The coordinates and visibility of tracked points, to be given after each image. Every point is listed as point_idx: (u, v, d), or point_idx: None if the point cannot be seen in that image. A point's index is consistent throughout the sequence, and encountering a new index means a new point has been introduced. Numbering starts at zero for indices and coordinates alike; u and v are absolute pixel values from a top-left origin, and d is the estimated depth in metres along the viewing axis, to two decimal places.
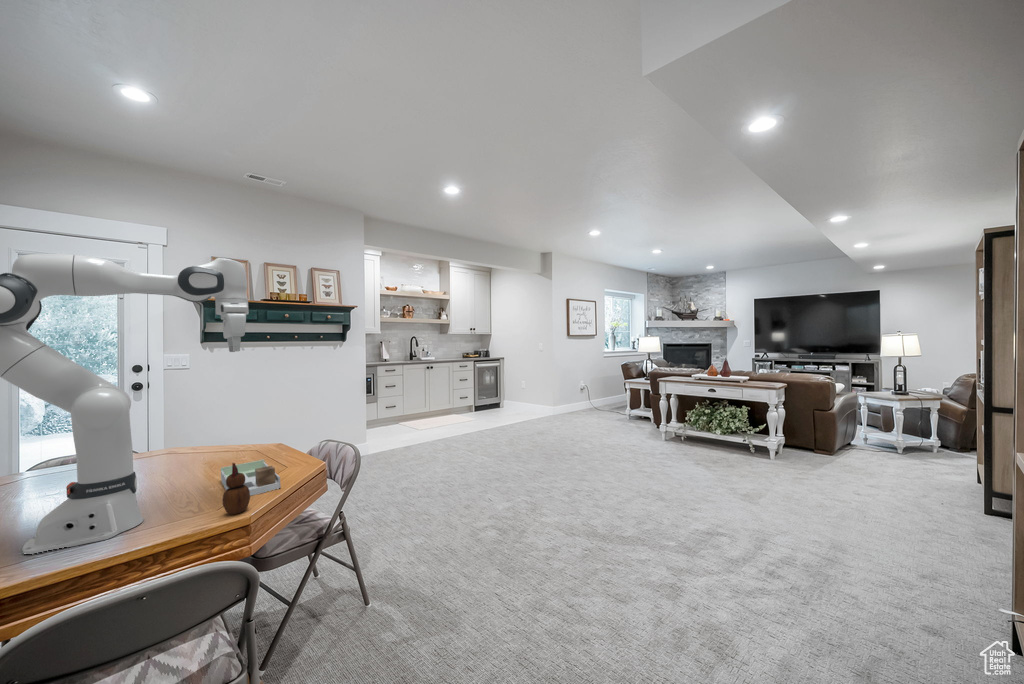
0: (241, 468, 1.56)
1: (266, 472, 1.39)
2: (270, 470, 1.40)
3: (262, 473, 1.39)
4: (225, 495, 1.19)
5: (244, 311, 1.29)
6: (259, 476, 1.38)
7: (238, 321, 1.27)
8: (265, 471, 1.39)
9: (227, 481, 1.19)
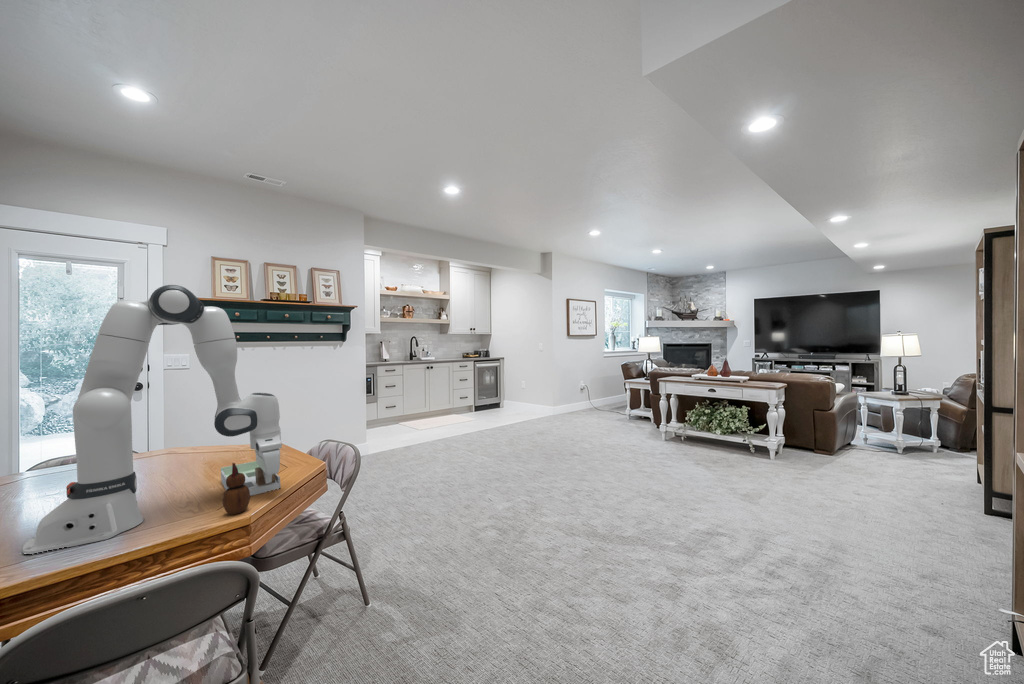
0: (241, 468, 1.56)
1: None
2: None
3: (262, 472, 1.39)
4: (225, 495, 1.19)
5: (278, 448, 1.33)
6: (259, 475, 1.39)
7: (273, 460, 1.31)
8: None
9: (227, 481, 1.19)
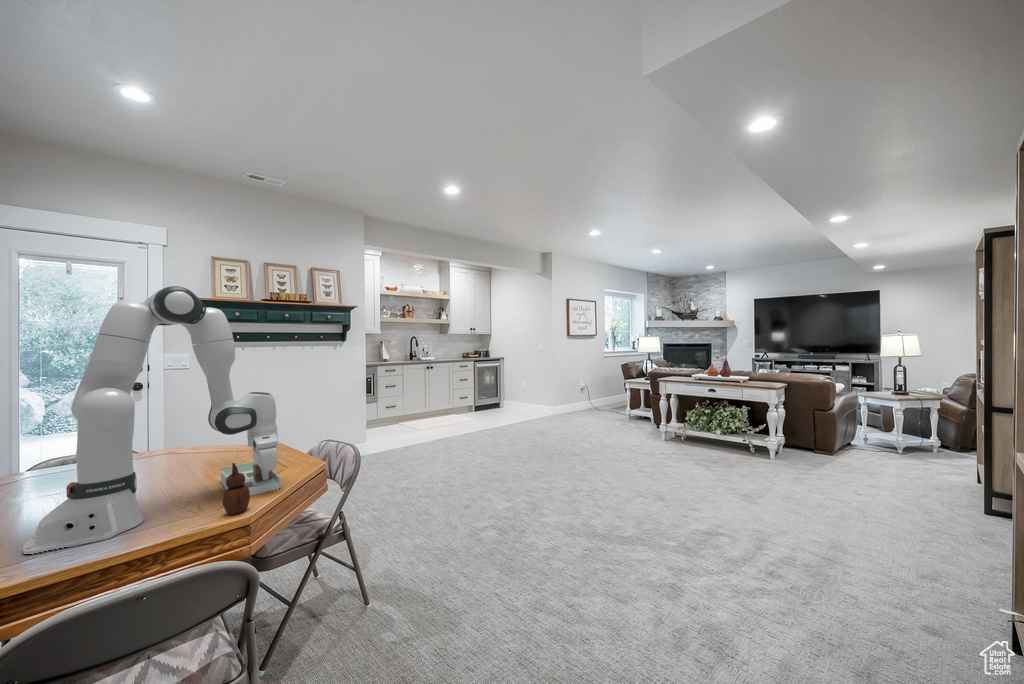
0: (241, 468, 1.56)
1: None
2: None
3: (259, 469, 1.44)
4: (225, 495, 1.19)
5: (275, 445, 1.37)
6: (256, 472, 1.43)
7: (269, 457, 1.35)
8: None
9: (227, 481, 1.19)
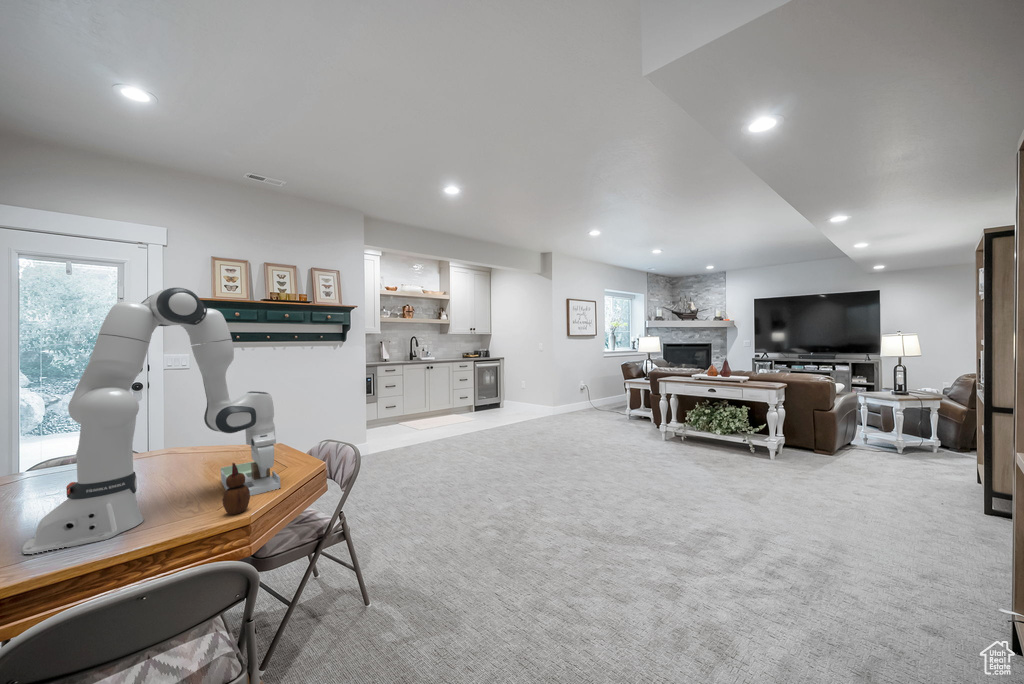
0: (241, 468, 1.56)
1: None
2: None
3: (257, 466, 1.47)
4: (225, 495, 1.19)
5: (272, 443, 1.40)
6: (254, 469, 1.46)
7: (267, 455, 1.38)
8: None
9: (227, 481, 1.19)
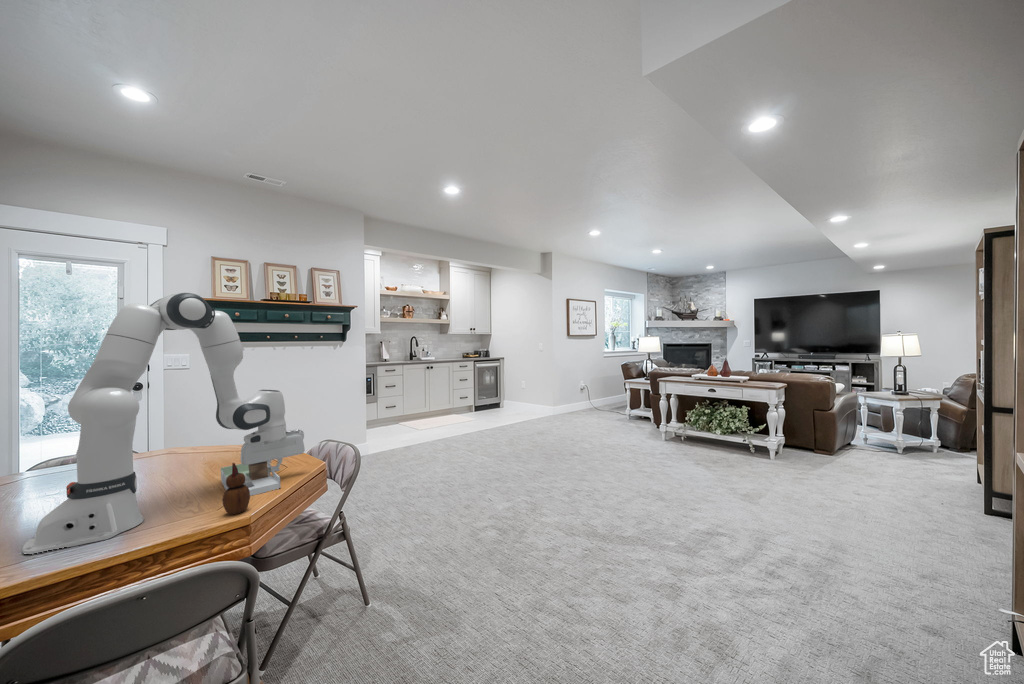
0: (241, 468, 1.56)
1: (259, 466, 1.47)
2: (262, 464, 1.47)
3: (255, 467, 1.46)
4: (225, 495, 1.19)
5: (247, 443, 1.44)
6: (252, 470, 1.45)
7: (241, 452, 1.44)
8: (258, 465, 1.47)
9: (227, 481, 1.19)
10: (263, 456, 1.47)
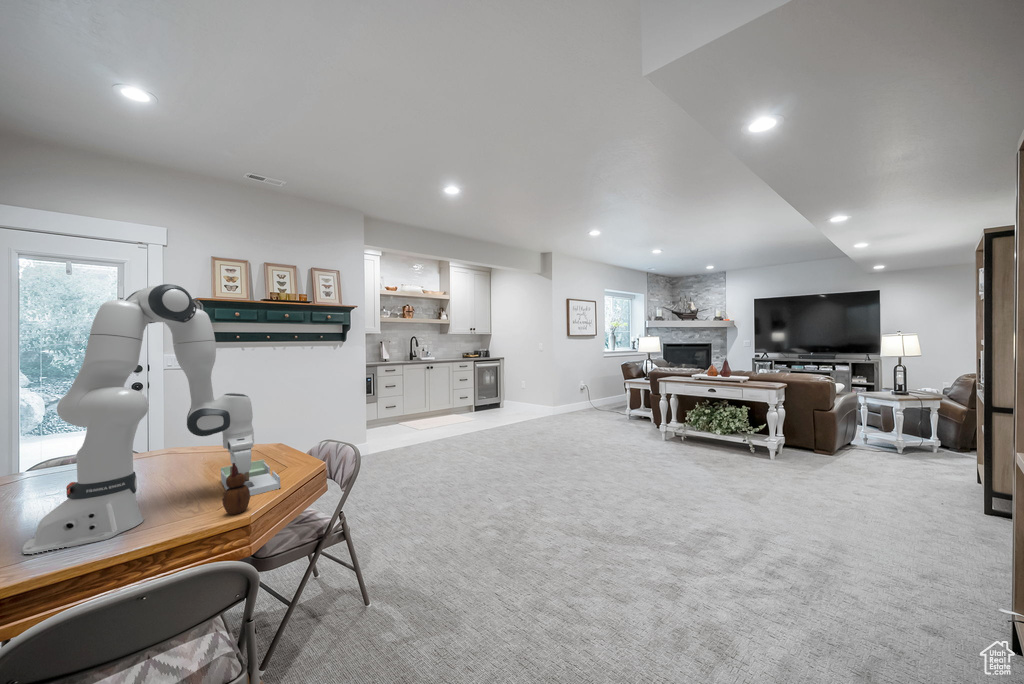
0: None
1: None
2: None
3: None
4: (225, 495, 1.19)
5: (250, 447, 1.36)
6: None
7: (244, 459, 1.34)
8: None
9: (227, 481, 1.19)
10: None
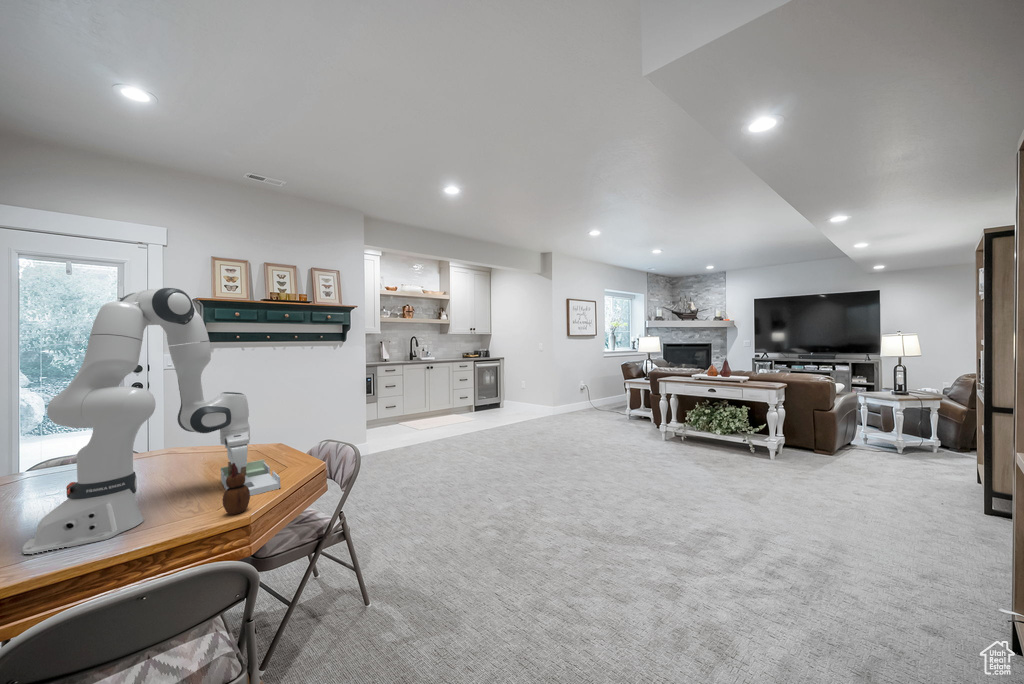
0: None
1: None
2: None
3: None
4: (225, 495, 1.19)
5: (246, 443, 1.43)
6: (231, 469, 1.49)
7: (240, 454, 1.41)
8: None
9: (227, 481, 1.19)
10: None
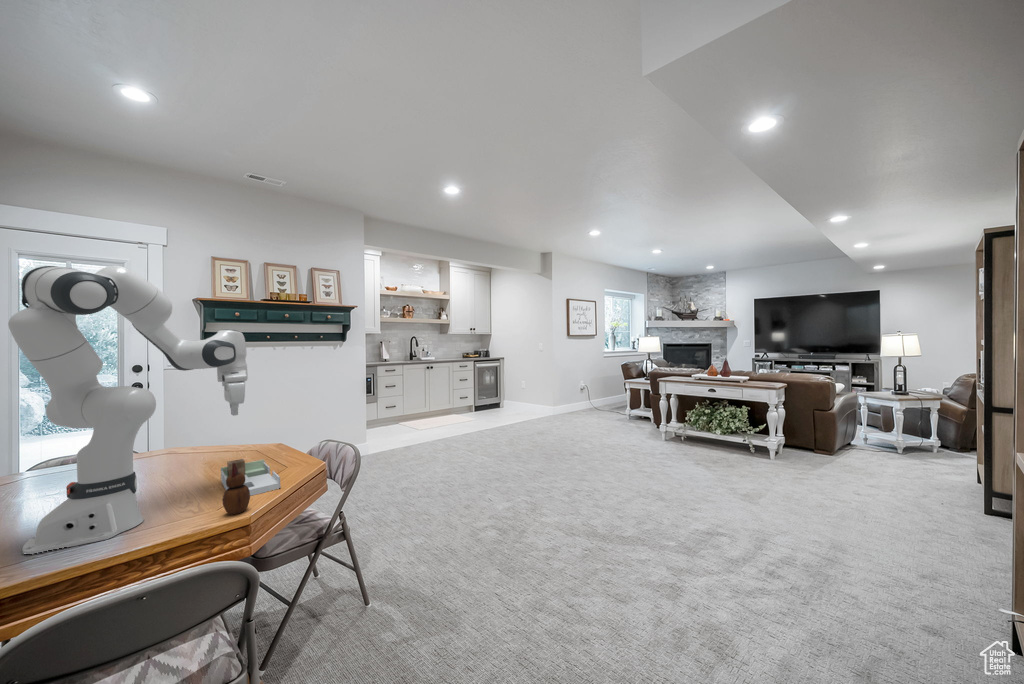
0: None
1: (236, 464, 1.51)
2: (240, 463, 1.52)
3: None
4: (225, 495, 1.19)
5: (243, 380, 1.41)
6: (230, 468, 1.50)
7: (238, 390, 1.39)
8: (235, 464, 1.51)
9: (227, 481, 1.19)
10: None
